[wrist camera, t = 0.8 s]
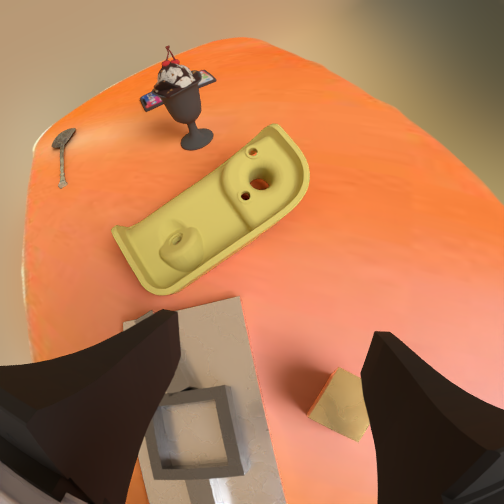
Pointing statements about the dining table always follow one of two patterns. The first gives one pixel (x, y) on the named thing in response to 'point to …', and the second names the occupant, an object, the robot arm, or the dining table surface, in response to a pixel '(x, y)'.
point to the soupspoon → (62, 152)
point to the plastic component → (216, 214)
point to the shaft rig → (211, 418)
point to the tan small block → (341, 405)
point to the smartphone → (154, 101)
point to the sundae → (182, 100)
